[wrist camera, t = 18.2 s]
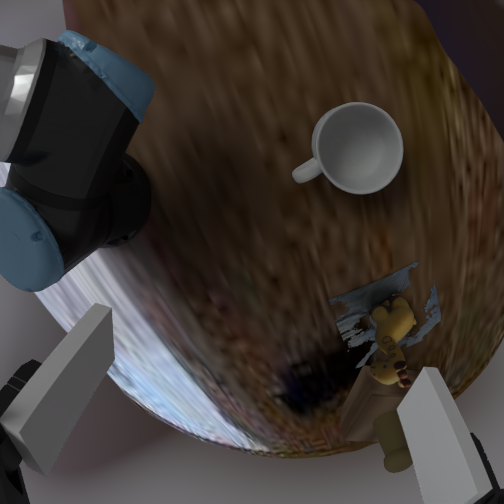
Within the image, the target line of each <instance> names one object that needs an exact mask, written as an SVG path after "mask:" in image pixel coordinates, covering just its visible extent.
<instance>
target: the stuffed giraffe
mask: <svg viewBox="0 0 504 504" xmlns="http://www.w3.org/2000/svg"><path fill="white" fill-rule="evenodd" d="M418 263H419V262H417V263H416V262H415V263H413V264H411V265H409V266H407V267H405V268H403V269H401V270H399V271H398V272H395V273H393V274H391V275H389V276H387V277H385V278H383V279H381V280H379V281H376V282H374V283H371V284H369V285H367V286H363V287H362V288H359V289H357V290H354V291H352V292H349V293H346V294H343V295H341V296H338V297H335V298H333V299H330V300H327V301H330V305H333V304H334V301H342V302H347V304H346V306H345V307H349V306H350V311H349V312H347V313H345V314H344V315H341V317H340V318H339V319H338V320H335V322H336V324H337V326H338V329H339V330H340V332H341V333H342V332H345V331H346V330H351V328H353V327H354V326H353V325H355V323H356V322H359V318H360V317H363V316H365V315H367V314H368V312H369V319H370V322H371V324H372V325H371V327H370V328H369V329H367V330H366V331H365V332H364V331H363V332H361V334H360V335H359V334H358V336H355V335H354V334H355V333H357V332H359V331H361V330H362V329H359V330H356V331H355V330H351V331H350V332H346V333H347V334H344V335H341V336H342V338H343V341H344V340H347V339H345V338H349V337H350V336H353V335H354V336H353V337H355V338H353V337H351V338H352V340H350V341H348V342H349V343H351V344H348V345H351V346H358V345H359V344H362V343H363V342H364V341H365V340H366V339H367V341H368V340H372V341H373V340H375V341H376V342H374V343H373V344H372V346H371V351H370V353H367V355H366V356H365V357H364V358H363V359H362V360H361V361H360V362H359V364H358V365H357V366H356V368H359V367H361V366H363V365H364V364H365V362H366V360H367V359H368V358H369V356H370V355H371V354H372V353H373V352H374V351H375V350H376V349H377V348H378V347H379V348H380V349H381V350H382V351H383V352H384V353H385V354H387V356H388V357H389V359H388V360H384V361H383V360H380V361H375V362H373V363H372V364H371V366H370V373H371V374H372V376H373V377H374V378H375V379H376V380H378V381H379V382H381V383H382V384H385V385H390V384H394V383H396V382H397V381H398V385H399V386H400V387H402V388H404V387H410V386H411V381H410V378H409V377H408V374H407V372H406V370H405V368H406V366H407V364H406V362H405V359H404V356H403V353H402V351H401V349H400V347H401V344H402V345H403V343H404V344H405V343H407V346H405V347H409V346H411V345H412V344H416V343H418V342H420V341H422V338H423V336H424V334H427V333H428V332H429V331H430V330H431V328H432V327H433V326H434V325H436V323H438V322H439V323H440V321H441V313H440V309H439V305H438V309H437V307H436V308H435V309H434V310H432V311H431V312H430V313H432V318H429V315H427V316H426V318H428V319H429V320H427V321H428V322H427V323H426V324H424V325H423V327H421V328H420V331H419V332H418V333H417V334H416V335H418V336H417V338H413V337H408V339H409V340H405V338H407V337H404V336H405V335H406V334H407V333H408V332H410V330H411V328H412V326H413V325H416V319H415V318H414V314H413V311H412V310H411V309H410V307H409V305H408V303H407V301H406V300H405V299H404V298H402V297H401V296H396V295H395V296H392V294H394V293H395V294H396V293H401V292H403V291H404V289H405V288H406V286H408V287H409V285H410V284H411V282H410V283H409V282H408V281H409V279H408V277H409V276H408V273H409V272H408V270H409V269H410V267H414V268H415V267H416V266H417V264H418ZM433 281H434V280H433ZM408 287H407V288H408ZM430 291H433V293H432V296H430V297H431V299H428V300H429V301H428V303H427V305H425V306H427V307H425V309H427V310H428V309H429V307H430V308H432V306H433V304H435V306H436V305H437V303H438V297H437V292H436V288H435V283H434V288H432V289H431V290H430ZM386 300H389V303H390V306H383V305H380V304H382V303H383V302H384V301H386ZM336 303H337V302H336ZM342 304H344V303H342ZM436 309H437V310H436ZM427 310H425V311H426V313H427V312H428V311H427ZM421 311H422V310H421ZM437 311H438V312H437ZM434 312H437V313H436V314H434ZM418 319H419V318H418ZM354 329H355V328H354ZM341 333H340V334H341ZM412 334H413V332H412ZM407 335H410V334H407ZM416 335H415V336H416ZM371 336H372V337H371ZM415 336H414V337H415ZM369 337H370V339H369ZM402 338H403V339H402ZM414 339H416V340H414ZM407 341H408V342H407ZM349 347H350V346H349ZM403 349H404V348H403ZM348 352H349V350H348ZM368 354H369V355H368Z"/></svg>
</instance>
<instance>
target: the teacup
mask: <svg viewBox="0 0 504 504" xmlns="http://www.w3.org/2000/svg"><path fill="white" fill-rule="evenodd" d="M312 151H313V155H314V157H313V158H312V159H310V160H309V161H307V162H306V163H304V164H302V165H301V166H299V167H297V168H296V169H295V170H294V171H293V172H292V176H293V178H294V180H295V181H296V182H297V183H304V182H306V181H309V180H311V179H313V178H315V177H316V176H318V175H319V174H321V173H322V172H323V173H324V174H325V176H326V177H327V178H328V179H329V180H330V181H331V182H332V183H333V184H334V185H335V186H336V187H338V188H339V189H341V190H343V191H346V192H348V193H352V194H369V193H373V192H376V191H379V190H381V189H382V188H384V187H385V186H387V185H388V184H389V183H390V182H391V181H392V180H393V178H394V177H395V176H396V174H397V173H398V171H399V169H400V166H401V163H402V159H403V141H402V137H401V133H400V131H399V129H398V127H397V125H396V123H395V122H394V120H393V119H392V118H391V117H390V116H389V115H388V114H387V113H386V112H385V111H383V110H382V109H380V108H378V107H376V106H374V105H371V104H368V103H363V102H352V103H347V104H344V105H341V106H339V107H336V108H334V109H332V110H330V111H329V112H327V113H326V114H325V115H324V116H323V117H322V118H321V119H320V120H319V121H318V123H317V125H316V127H315V129H314V132H313V136H312Z"/></svg>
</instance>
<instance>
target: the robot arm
mask: <svg viewBox="0 0 504 504" xmlns="http://www.w3.org/2000/svg"><path fill="white" fill-rule="evenodd" d="M154 91H155V86H154V82H153V80H152V78H151V77H150V76H149V75H148V74H147V73H145V72H144V71H143V70H141V69H140V68H138V67H137V66H135V65H134V64H132V63H131V62H129V61H127V60H126V59H124V58H122V57H121V56H119V55H117V54H116V53H114V52H112V51H110V50H109V49H107V48H105V47H103V46H101V45H98V44H97V43H96V42H94V41H92V40H90V39H88V38H87V37H85V36H83V35H81V34H78V33H76V32H74V31H71V30H67V31H65V32H64V33H63V34H62V35H61V36H59V38H58V42H54V41H51V40H48V39H45V38H39V39H37V40H35V41H33V42H31V43H29V44H28V45H26V46H24V47H22V48H19V49H17V48H12V47H8V46H4V45H0V162H6V163H11V166H10V170H9V173H8V177H7V181H6V185H5V187H0V274H1V275H2V276H3V277H4V278H5V279H6V280H7V281H8V282H9V283H11V284H12V285H13V286H15V287H17V288H18V289H21V290H23V291H27V292H36V291H37V292H38V291H42V290H44V289H45V288H47V287H49V286H51V285H52V284H54V283H57V282H58V281H60V279H61V278H62V276H64V275H65V274H66V273H67V272H69V271H70V270H71V269H72V268H74V267H75V266H76V265H78V264H79V263H80V262H81V261H83V260H84V259H85V258H87V257H88V256H89V255H90V254H92V253H93V252H94V251H96V250H97V249H98V248H108V247H115V246H119V245H121V244H124V243H126V242H127V241H129V240H130V239H131V238H133V237H134V236H135V235H136V234H137V233H139V231H140V230H141V229H142V228H143V226H144V225H145V223H146V221H147V219H148V216H149V212H150V207H151V192H150V186H149V183H148V180H147V177H146V175H145V173H144V171H143V170H142V168H141V167H140V165H139V164H138V163H137V162H136V161H135V160H134V159H133V158H132V157H130V156H129V155H128V154H126V153H125V152H126V150H127V147H128V145H129V143H130V141H131V139H132V137H133V135H134V133H135V131H136V129H137V127H138V125H139V124H142V122H143V116H144V114H145V111H146V109H147V107H148V105H149V103H150V101H151V99H152V97H153V95H154ZM114 359H115V355H114V341H113V324H112V308H110V307H107V306H104V305H101V304H97V303H95V304H94V305H93V306H92V307H91V308H90V309H89V311H88V312H87V313H86V314H85V315H84V316H83V317H82V318H81V319H80V321H79V322H78V323H77V324H76V325H75V326H74V327H73V329H72V330H71V331H70V332H69V333H68V334H67V335H66V337H65V338H64V339H63V340H62V341H61V343H60V344H59V345H58V346H57V347H56V348H55V349H54V351H53V352H52V353H51V354H50V355H49V357H48V358H47V359H46V360H45V361H44V363H43V364H42V363H40V362H38V361H36V360H31V361H29V362H27V363H25V364H24V365H22V366H21V367H20V368H19V369H18V370H17V371H16V372H15V374H14V375H13V377H11V378H10V380H9V381H8V382H7V385H5V386H4V387H3V388H2V389H1V390H0V504H30V502H29V499H28V495H27V492H26V488H25V484H24V481H23V477H22V473H21V469H20V467H19V464H20V463H21V461H22V459H23V460H24V462H25V463H26V465H27V466H28V467H29V468H31V469H33V470H34V471H36V472H38V473H40V474H41V475H43V476H45V477H47V475H48V473H49V471H50V469H51V468H52V466H53V464H54V462H55V460H56V458H57V456H58V455H59V453H60V451H61V449H62V447H63V446H64V444H65V442H66V440H67V438H68V437H69V435H70V433H71V431H72V429H73V428H74V426H75V424H76V422H77V421H78V419H79V417H80V416H81V414H82V412H83V411H84V409H85V407H86V405H87V404H88V402H89V400H90V399H91V397H92V395H93V394H94V392H95V390H96V389H97V387H98V385H99V384H100V382H101V380H102V379H103V377H104V375H105V374H106V372H107V371H108V369H109V367H110V366H111V364H112V363H113V361H114ZM397 412H398V415H399V418H400V421H401V424H402V428H403V431H404V434H405V437H406V440H407V444H408V447H409V450H410V454H411V457H412V461H413V464H414V467H415V471H416V475H417V478H418V482H419V486H420V489H421V493H422V497H423V501H424V504H504V489H500V487H499V485H498V483H497V480H496V477H495V475H494V473H493V470H492V468H491V465H490V463H489V461H487V456H486V454H485V453H484V449H483V447H482V445H481V443H480V441H479V440H478V439H477V437H476V436H475V435H474V434H473V433H469V431H468V429H467V427H466V424H465V422H464V420H463V418H462V416H461V414H460V412H459V410H458V408H457V406H456V404H455V402H454V400H453V398H452V396H451V394H450V392H449V390H448V388H447V386H446V384H445V382H444V380H443V378H442V376H441V374H440V373H439V371H438V369H437V368H433V367H423V369H422V371H421V372H420V374H419V376H418V377H417V379H416V380H415V382H414V384H413V385H412V387H411V388H410V390H409V391H408V393H407V394H406V396H405V397H404V399H403V400H402V402H401V403H400V405H399V406H398V408H397Z"/></svg>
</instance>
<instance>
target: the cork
mask: <svg viewBox="0 0 504 504" xmlns="http://www.w3.org/2000/svg"><path fill="white" fill-rule="evenodd" d="M373 428H374V430H375V433H376V435H377V438H378V440H379V442H380V445H381V447H382V449H383V452H384V454H385V458H384V467H385V469H386V470H387V471H389V472H392V473H395V472H400V471H403V470H405V469H407V468H408V467H410V466H411V465H412V463H413V461H412V457H411V454H410V450H409V448H408V444H407V440H406V437H405V434H404V431H403V428H402V424H401V421H400V418H399V415H398V412H397V411H395V410H394V411H388V412H385V413H383V414H381V415H379V416H378V417H377V418H376V419H375V420H374V422H373Z"/></svg>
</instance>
